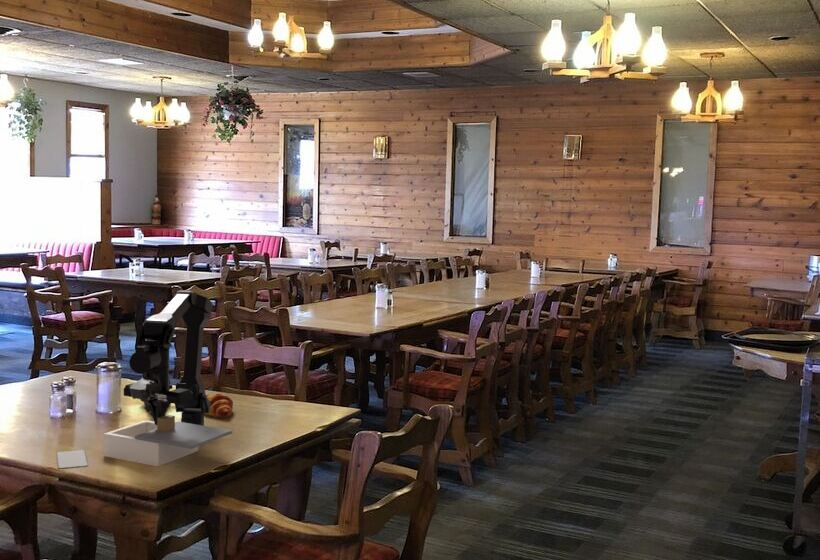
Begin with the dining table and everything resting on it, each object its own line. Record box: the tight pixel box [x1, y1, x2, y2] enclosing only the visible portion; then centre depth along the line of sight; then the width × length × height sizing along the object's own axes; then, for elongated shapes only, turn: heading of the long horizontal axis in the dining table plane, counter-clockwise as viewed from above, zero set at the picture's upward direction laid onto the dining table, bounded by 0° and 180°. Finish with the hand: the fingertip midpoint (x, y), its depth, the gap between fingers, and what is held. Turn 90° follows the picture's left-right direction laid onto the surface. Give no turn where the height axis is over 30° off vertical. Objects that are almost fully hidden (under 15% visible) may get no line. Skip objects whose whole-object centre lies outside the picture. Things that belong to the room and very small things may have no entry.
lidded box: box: [103, 419, 199, 467], centre depth 229 cm, size 16×18×6 cm
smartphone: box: [56, 449, 89, 470], centre depth 222 cm, size 7×1×15 cm
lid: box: [135, 414, 233, 449], centre depth 224 cm, size 17×18×4 cm
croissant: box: [204, 392, 234, 419], centre depth 274 cm, size 21×10×8 cm, turn 31°
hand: (157, 424), depth 228 cm, fingers closed
